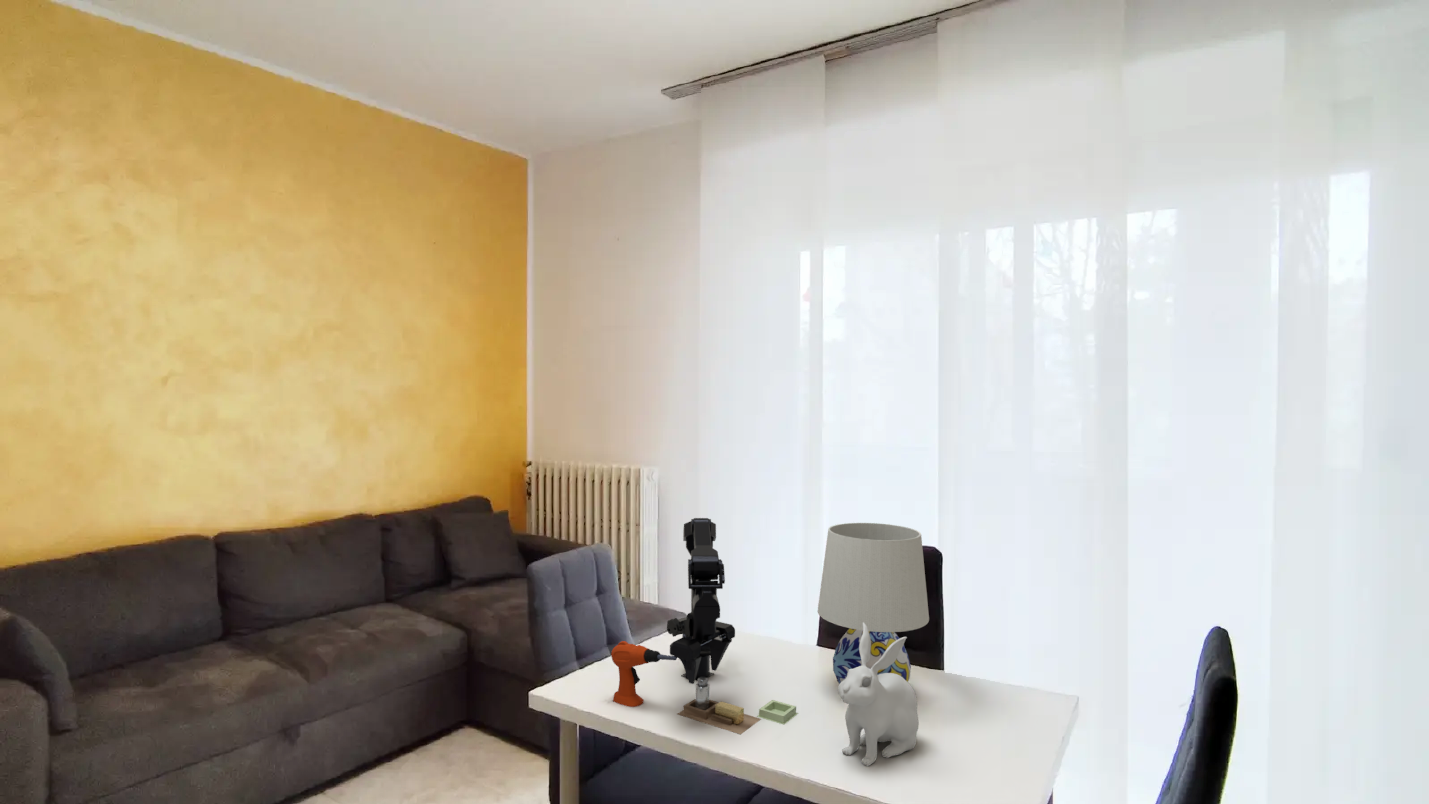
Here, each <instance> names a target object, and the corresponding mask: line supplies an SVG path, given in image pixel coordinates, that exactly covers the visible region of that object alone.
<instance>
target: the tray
mask: <svg viewBox="0 0 1429 804" xmlns="http://www.w3.org/2000/svg"><path fill="white" fill-rule="evenodd" d="M798 714H799V712H797V705H792V704H790V703H786V702H783V701H778V700H774V699H771V700H770V701H769V702H767V703H765V704H764V705H763V706H762V707H761V708H759V709H758V715H757V716H756V717H757V718H760V719H764V720H767V721H770V722H774V723H777V724H779V725H782V726H783V725H786V724H788V722H789V721H791V720H792V719H793V718H794V717H795V716H797V715H798Z"/></svg>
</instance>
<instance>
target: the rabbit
mask: <svg viewBox="0 0 1429 804" xmlns="http://www.w3.org/2000/svg"><path fill="white" fill-rule="evenodd" d="M906 639H908V637H907V636H903V637H899V639H898V640H896V641H895V642H893V643H892V644H891V645H890V646H889V647H888V648H887V650H886V651H885V652H884V654H883V656H882V657H881V658H880V660H879V661H878V662H876V663H875V664H874V665H873V666H872V668H871V669H869V668H867V667H866V663H867V662H868V661H869V660H870V651H871V639H870V635H869V632H868V628H867V626H866V624H865V623H864V622H863V634H862V637H861V640H860V644H859V652H860V656H861V661H862V665H861V666H859V667H856V668H854V669H849V671H848V673H847V677H846V679H845V680H843V681H842V682H841V683H840V684H839V683H838V686H837V691H838V697H839V698H840V700H842V701H843V703H845V704H847V705H848V706H847V708H846V711H845V716H844V717H845V719H844V720H845V725H846V729H847V734H848V736H849V737H848V738H849V745H848V746H845V747H843V748H842V749H841V751H842V753H843V754H844V755H845V756H851V755H853V754H854V753H855V752H857V750H858V749H859V746H860V745H861V746H866V752H865V755H864V757H863V758H862V759H861V764H863V765H864V766H867V767H869V766H871V765H872V764H873V763H874V762H875V761H876V759H877V757H878V743H885V742H890V744H888V745H887V746H886V747H884V748H883V749H882V751H881V755H882V757H885V758H891V757H894V756H900V755H901V754H903V753H904V752H908V751H911V750H912V749H914V748H915V746H916V743H917V734H918V730H919V725H920V723H919V714H918V700H917V694H916V692H915V690H914V688H913V686H912V685H911V684H910V683H909V681H908V682H907V681H906V680H905V679H904V678H902V677H901V676H900V675H897V674H894V673H883V674H879V675H877V672H878V670H880V669H886V668H888V667H889V666H890V665H891V664H893V663H894V662H895V660H896V658H897V656H898V654H899V652H900V650H901V648H902V647H903V645H904V646H905V642H906ZM862 730H864V733H863V734H862V735H861V733H862Z"/></svg>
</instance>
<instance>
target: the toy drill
mask: <svg viewBox="0 0 1429 804" xmlns="http://www.w3.org/2000/svg"><path fill="white" fill-rule="evenodd" d="M610 653H611V659H612V662H613V664H614V665H615V666H616V667H618V674H619V677H618V678H619V681H618V682H619V683H618V688H617V691H615V692H614V693H613V694H614V695H613V698H612V702H614V703H616V704H619V705H621V706H624V707H630V708H636V707H640V706H642V705H643V704H644V702H645V700H644V699H643V697H641V696H639V694H637V691H636V685H637V684H638V683H639V681H641V678H640V677H639V676H638V673H637V670H636V669H635V667H637V666H638V667H639V666H642V665H646V664H649V663H658V662H659V661H660V660H661V661H662V660H666V661H676V660H677V659H678V658H676V657H674V655H670V654H669V655H666V654H663V653H662V654H661V653H660V652H659V651H658V650H653V649H650V648H647V647H646V646H645V645H641V644H638V645H636V644H634V643H629V642H627V641H625V640H622V641H619V642H618V644H617V645H615V646H614V647H613V648H612V650H611V652H610Z"/></svg>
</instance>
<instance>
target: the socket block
mask: <svg viewBox="0 0 1429 804" xmlns="http://www.w3.org/2000/svg"><path fill="white" fill-rule="evenodd" d="M695 703H696V698H694V699H693V700H690V701H689V702H687V703H686V704H684V705H683V709H682V710H681V711H679V712H678V713H676V715H678V716H680V717H684V718H687V719H691V720H694V721H697V722H700V723H703V724H706V725H709V726H713V727H715V728H718V729H722V730H725V731H728V732H731V733H735V734H737V735H742V734H743V733H745V732H746V731H747V730H749V729H750V728H752V727H753V726H755V724H757V723H758V722H760V721H761V720H762V718H760V717H757V716H753V715H750V714H746V713H744V721H742V722H741V723H739V724H734V723H732V720H731V719H728V718H725V717H722V716H718V715H715V705H716V704H718V703H720V701H716V700H712V699H709V708H708V709H707V710H702V709H698V708H695Z"/></svg>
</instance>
